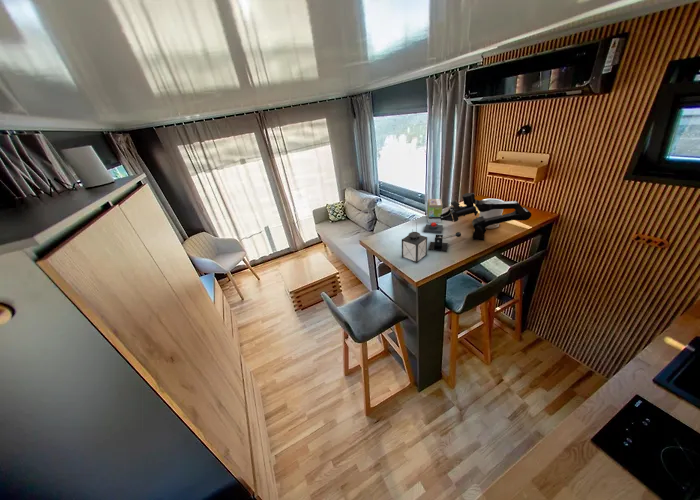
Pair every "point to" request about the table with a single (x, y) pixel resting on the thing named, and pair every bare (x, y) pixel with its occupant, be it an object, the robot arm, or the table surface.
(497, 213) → the utensil holder
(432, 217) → the tea box
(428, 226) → the button block
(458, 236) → the lever
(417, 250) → the lantern
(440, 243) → the bracket
